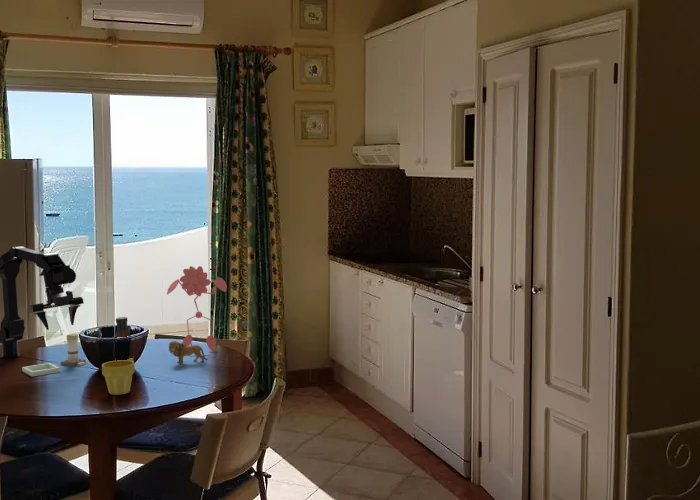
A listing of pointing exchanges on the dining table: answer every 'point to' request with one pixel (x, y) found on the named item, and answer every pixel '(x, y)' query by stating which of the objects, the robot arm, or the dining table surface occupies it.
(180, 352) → the lion figurine
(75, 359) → the beige round cylinder
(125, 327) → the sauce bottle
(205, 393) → the dining table surface
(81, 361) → the fuse block
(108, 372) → the plant pot
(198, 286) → the figurine
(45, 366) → the parts tray
